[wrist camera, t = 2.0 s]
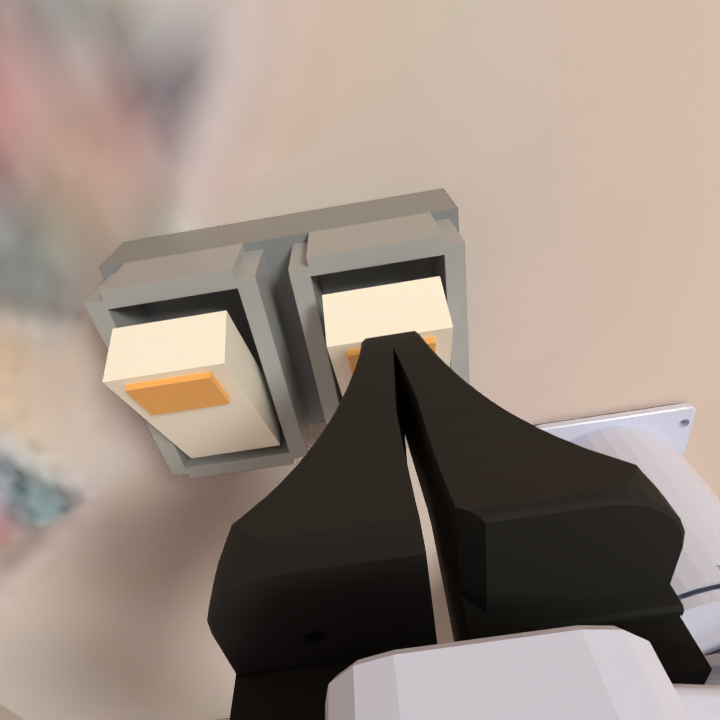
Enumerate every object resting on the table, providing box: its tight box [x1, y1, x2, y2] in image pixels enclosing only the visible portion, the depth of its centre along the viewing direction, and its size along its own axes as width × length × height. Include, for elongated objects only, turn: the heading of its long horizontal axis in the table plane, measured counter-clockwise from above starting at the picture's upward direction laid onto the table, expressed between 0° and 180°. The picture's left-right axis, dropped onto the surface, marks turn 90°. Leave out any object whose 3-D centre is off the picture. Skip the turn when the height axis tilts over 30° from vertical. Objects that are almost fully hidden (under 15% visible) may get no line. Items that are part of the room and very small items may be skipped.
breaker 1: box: [103, 310, 280, 458], centre depth 16 cm, size 6×3×2 cm, turn 9°
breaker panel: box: [84, 189, 470, 479], centre depth 18 cm, size 8×12×5 cm, turn 99°
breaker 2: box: [322, 276, 453, 397], centre depth 16 cm, size 6×3×2 cm, turn 9°
